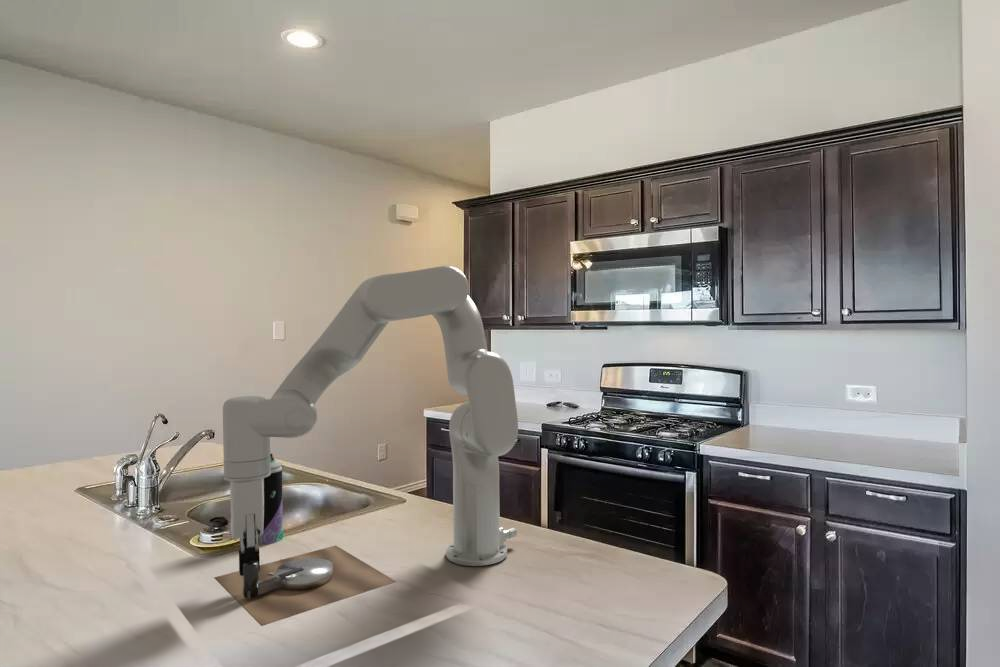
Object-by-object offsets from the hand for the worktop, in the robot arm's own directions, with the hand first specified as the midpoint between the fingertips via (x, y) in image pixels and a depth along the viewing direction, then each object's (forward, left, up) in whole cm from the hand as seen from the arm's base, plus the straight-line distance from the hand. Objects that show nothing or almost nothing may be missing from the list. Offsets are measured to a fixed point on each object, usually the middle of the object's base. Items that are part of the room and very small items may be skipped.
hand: (249, 572), depth 107 cm
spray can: (-12, -23, -5) cm, 26 cm away
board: (-9, +2, -5) cm, 10 cm away
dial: (-6, +2, -3) cm, 7 cm away
